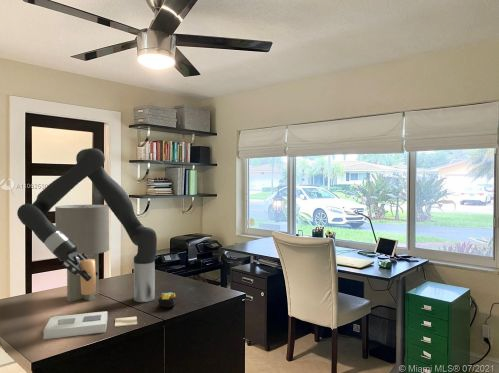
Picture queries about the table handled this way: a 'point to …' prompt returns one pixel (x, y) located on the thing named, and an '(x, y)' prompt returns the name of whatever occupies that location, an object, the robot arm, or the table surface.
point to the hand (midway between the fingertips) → (93, 277)
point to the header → (76, 325)
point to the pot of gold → (167, 300)
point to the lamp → (84, 239)
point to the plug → (89, 267)
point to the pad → (125, 321)
